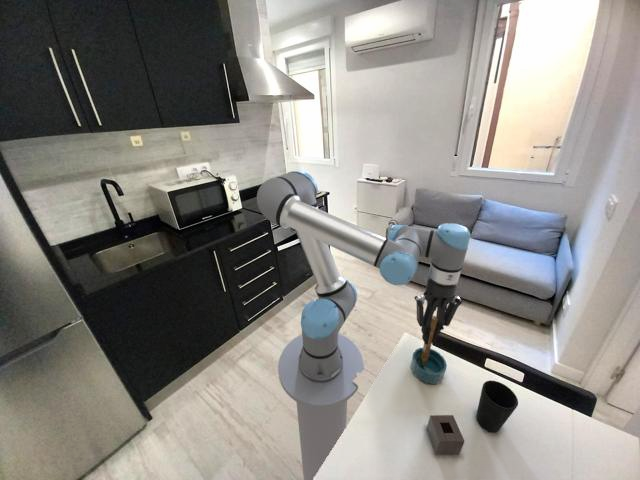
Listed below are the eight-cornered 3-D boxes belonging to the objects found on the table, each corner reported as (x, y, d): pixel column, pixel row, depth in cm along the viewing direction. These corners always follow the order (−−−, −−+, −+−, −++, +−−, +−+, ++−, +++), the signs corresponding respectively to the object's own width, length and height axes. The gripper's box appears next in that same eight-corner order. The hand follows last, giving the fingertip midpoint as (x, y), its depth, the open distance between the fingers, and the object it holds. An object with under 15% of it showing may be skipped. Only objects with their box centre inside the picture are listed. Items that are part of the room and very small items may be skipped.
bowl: (404, 370, 86) (406, 359, 83) (419, 352, 92) (422, 342, 90) (434, 391, 79) (437, 380, 77) (448, 371, 85) (451, 360, 83)
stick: (421, 365, 85) (432, 319, 76) (419, 361, 86) (430, 315, 78) (426, 365, 85) (437, 319, 76) (424, 361, 86) (435, 315, 78)
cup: (479, 402, 76) (490, 375, 70) (508, 424, 70) (523, 396, 65) (466, 419, 71) (477, 391, 66) (496, 444, 66) (510, 416, 61)
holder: (435, 454, 64) (439, 441, 62) (426, 428, 70) (430, 415, 67) (459, 454, 64) (464, 441, 61) (448, 428, 69) (453, 415, 67)
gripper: (421, 287, 67) (408, 350, 78) (477, 286, 67) (457, 350, 78) (412, 271, 74) (401, 332, 85) (462, 271, 74) (446, 331, 84)
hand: (428, 340), depth 81 cm, fingers closed on stick, 2 cm apart
